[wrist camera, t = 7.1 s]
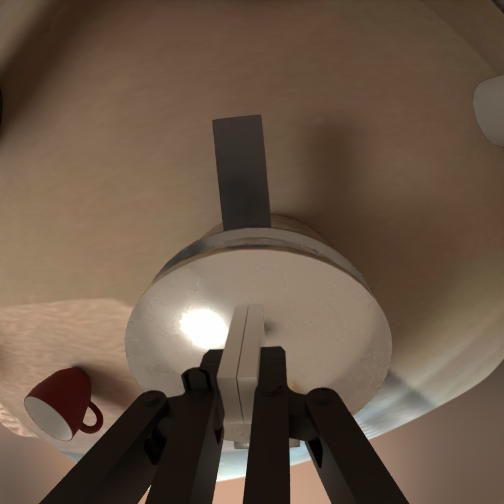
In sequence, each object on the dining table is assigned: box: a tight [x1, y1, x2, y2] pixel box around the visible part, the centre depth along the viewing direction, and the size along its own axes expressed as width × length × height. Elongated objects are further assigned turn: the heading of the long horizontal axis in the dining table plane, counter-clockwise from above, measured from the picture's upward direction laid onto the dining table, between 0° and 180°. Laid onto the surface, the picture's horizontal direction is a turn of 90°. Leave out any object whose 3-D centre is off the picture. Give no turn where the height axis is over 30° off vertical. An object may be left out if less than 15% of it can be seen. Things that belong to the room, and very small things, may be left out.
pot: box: [153, 115, 373, 294], centre depth 27 cm, size 28×19×10 cm
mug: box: [24, 368, 103, 441], centre depth 33 cm, size 10×8×10 cm
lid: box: [125, 244, 392, 449], centre depth 20 cm, size 20×19×3 cm
